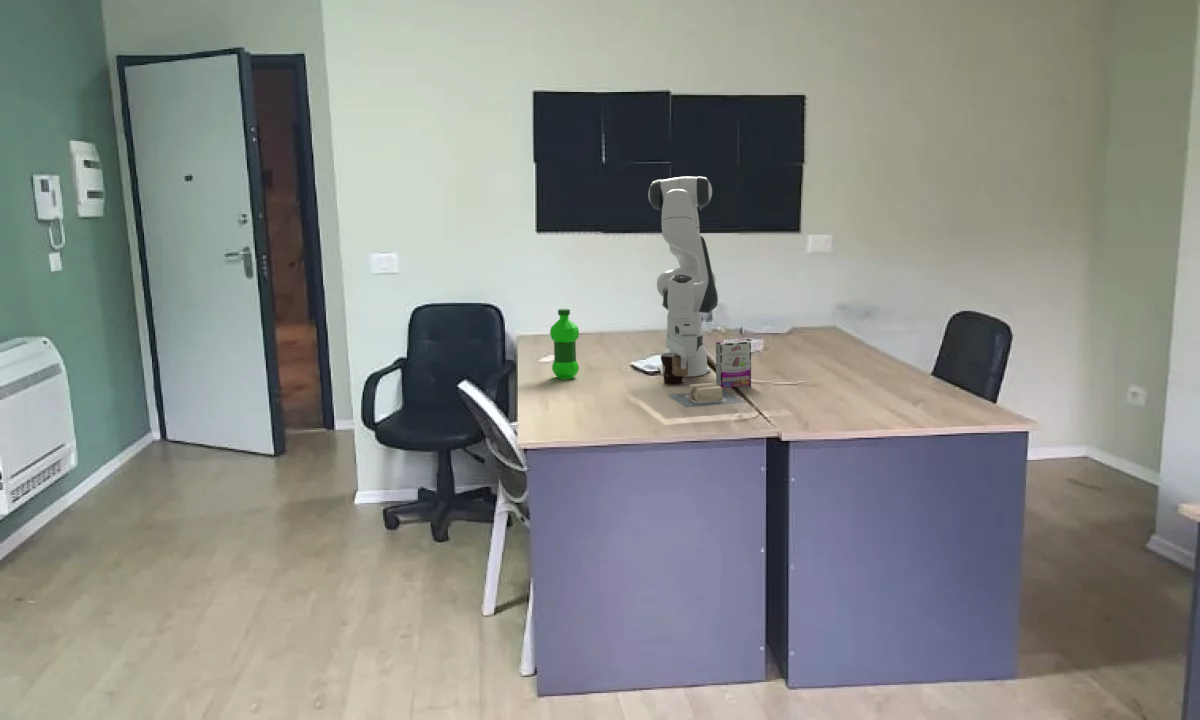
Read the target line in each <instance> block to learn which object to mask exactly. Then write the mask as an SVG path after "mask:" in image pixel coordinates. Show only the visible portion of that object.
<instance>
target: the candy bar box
mask: <svg viewBox="0 0 1200 720" xmlns="http://www.w3.org/2000/svg"><path fill="white" fill-rule="evenodd" d="M715 384H716V385H718V386H720V387H722V388H733V387H744V386H745V387H746V386H748V387H749V388H752V341H749V340H747V339H742V340H741V339H740V340H739V339H738V340H726V341H716V342H715Z"/></svg>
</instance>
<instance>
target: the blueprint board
mask: <svg viewBox="0 0 1200 720" xmlns="http://www.w3.org/2000/svg"><path fill="white" fill-rule="evenodd" d="M667 396H668V397H669V398H671V399H672V400H674V401H676V402H677V403H678V404H679V405H681V406H683V407H684V408H694V407H695V408H696V407H707V406H717V405H718V406H719V405H732V404H743V403H744V404H745V403H747V402H746V401H744V399H741V398H739V397H738V396H735V395H734V394H731V392H728V391H726V390H725V389H724V390H723V389H722V400H719V401H707V402H697V401H696V400H694V399H692V398H691V397H690V392H686V393H685V392H683V393H673V394H667Z"/></svg>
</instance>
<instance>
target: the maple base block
mask: <svg viewBox="0 0 1200 720" xmlns="http://www.w3.org/2000/svg"><path fill="white" fill-rule="evenodd" d="M722 390H723V387H720V386H718V385H716V383H714V382H708V383H707V382H706V383H693V384H690V383H689V393H690V397H691V398H692V399H694V400H696V401H697V402H707V401H719V400H722Z"/></svg>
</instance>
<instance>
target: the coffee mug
mask: <svg viewBox="0 0 1200 720" xmlns="http://www.w3.org/2000/svg"><path fill="white" fill-rule="evenodd" d="M672 356H673V352H670V353H665V352H664V353H660V360H661V359H662V361H661V364H662V367H663V375H662V376H663V383H664V384H665V385H680V384H683V380H684V377H683V376H675V375H673V374H672Z"/></svg>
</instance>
